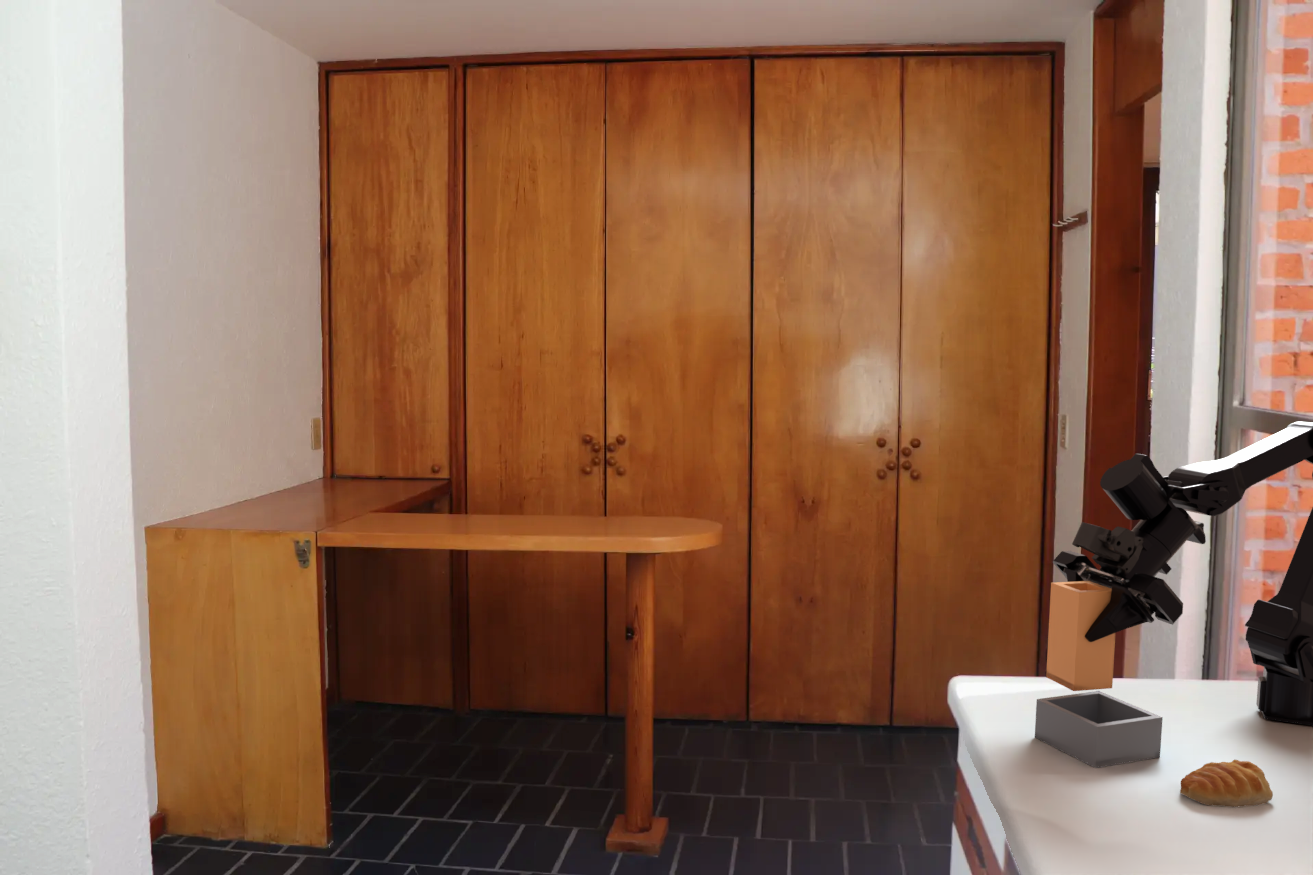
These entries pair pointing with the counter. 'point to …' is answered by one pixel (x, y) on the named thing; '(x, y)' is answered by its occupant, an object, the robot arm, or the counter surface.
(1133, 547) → the robot arm
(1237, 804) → the pastry
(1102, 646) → the orange hollow square block
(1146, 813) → the counter surface
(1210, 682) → the counter surface
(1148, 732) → the grey crate
